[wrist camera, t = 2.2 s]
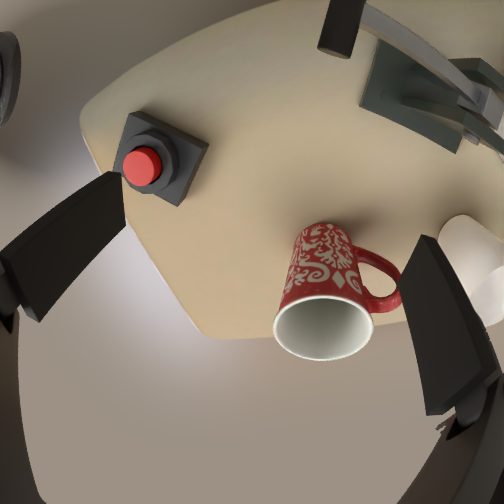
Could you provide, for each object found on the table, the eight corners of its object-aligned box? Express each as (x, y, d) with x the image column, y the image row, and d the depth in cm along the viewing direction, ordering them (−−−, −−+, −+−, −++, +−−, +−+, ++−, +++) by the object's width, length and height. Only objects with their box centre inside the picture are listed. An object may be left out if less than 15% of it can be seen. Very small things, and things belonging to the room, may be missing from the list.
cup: (430, 272, 33) (458, 338, 23) (426, 214, 29) (466, 277, 19) (482, 255, 29) (518, 314, 20) (483, 198, 25) (534, 252, 15)
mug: (297, 282, 38) (287, 366, 27) (277, 225, 34) (258, 304, 23) (388, 265, 34) (411, 347, 23) (380, 202, 29) (415, 276, 18)
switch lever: (306, 48, 10) (333, 48, 8) (330, -34, 7) (358, -45, 5) (468, 134, 14) (491, 148, 12) (485, 79, 11) (509, 89, 10)
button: (127, 171, 29) (119, 176, 27) (137, 141, 27) (128, 145, 25) (155, 186, 29) (147, 192, 28) (166, 156, 27) (158, 160, 26)
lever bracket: (358, 106, 24) (399, 125, 13) (380, 32, 19) (434, 0, 7) (451, 151, 24) (522, 203, 12) (473, 85, 18) (555, 103, 7)
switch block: (121, 165, 33) (103, 176, 29) (138, 110, 28) (119, 115, 25) (184, 199, 34) (170, 214, 31) (209, 144, 29) (196, 153, 26)
